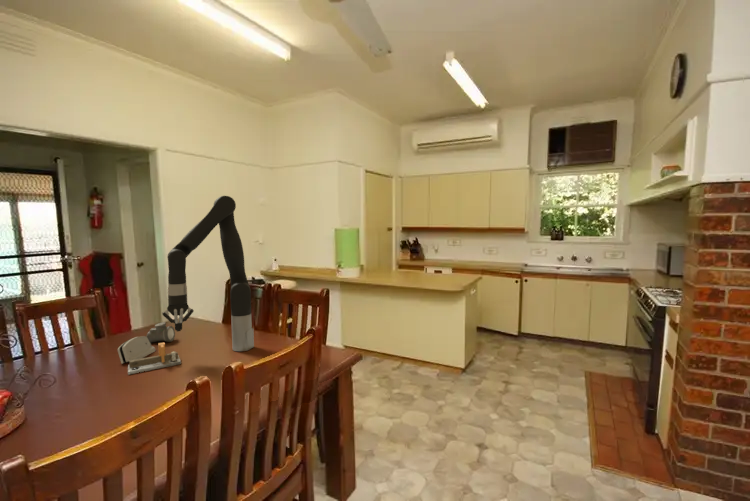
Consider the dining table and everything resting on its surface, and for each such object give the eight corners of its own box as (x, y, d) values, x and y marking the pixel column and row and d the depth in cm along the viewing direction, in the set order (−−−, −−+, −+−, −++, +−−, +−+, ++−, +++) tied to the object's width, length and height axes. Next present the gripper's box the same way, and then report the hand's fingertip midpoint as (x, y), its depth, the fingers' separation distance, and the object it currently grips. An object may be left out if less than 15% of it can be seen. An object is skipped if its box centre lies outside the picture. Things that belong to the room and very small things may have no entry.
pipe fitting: (177, 337, 188) (173, 319, 186) (169, 343, 180) (165, 325, 178) (154, 340, 187) (150, 322, 185) (146, 347, 179) (141, 328, 177)
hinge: (132, 363, 153) (123, 342, 152) (122, 367, 153) (113, 346, 152) (156, 350, 170) (148, 331, 169) (147, 353, 170) (139, 334, 169)
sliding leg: (165, 357, 156) (164, 342, 156) (166, 361, 150) (165, 346, 150) (159, 358, 155) (158, 343, 154) (160, 363, 149) (159, 347, 149)
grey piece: (178, 357, 159) (178, 346, 159) (181, 364, 152) (180, 352, 152) (128, 367, 149) (127, 355, 148) (128, 374, 141) (127, 362, 141)
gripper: (161, 296, 149) (162, 335, 150) (195, 293, 157) (196, 330, 158) (159, 293, 155) (161, 331, 156) (192, 290, 163) (193, 326, 164)
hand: (178, 330), depth 157 cm, fingers closed
